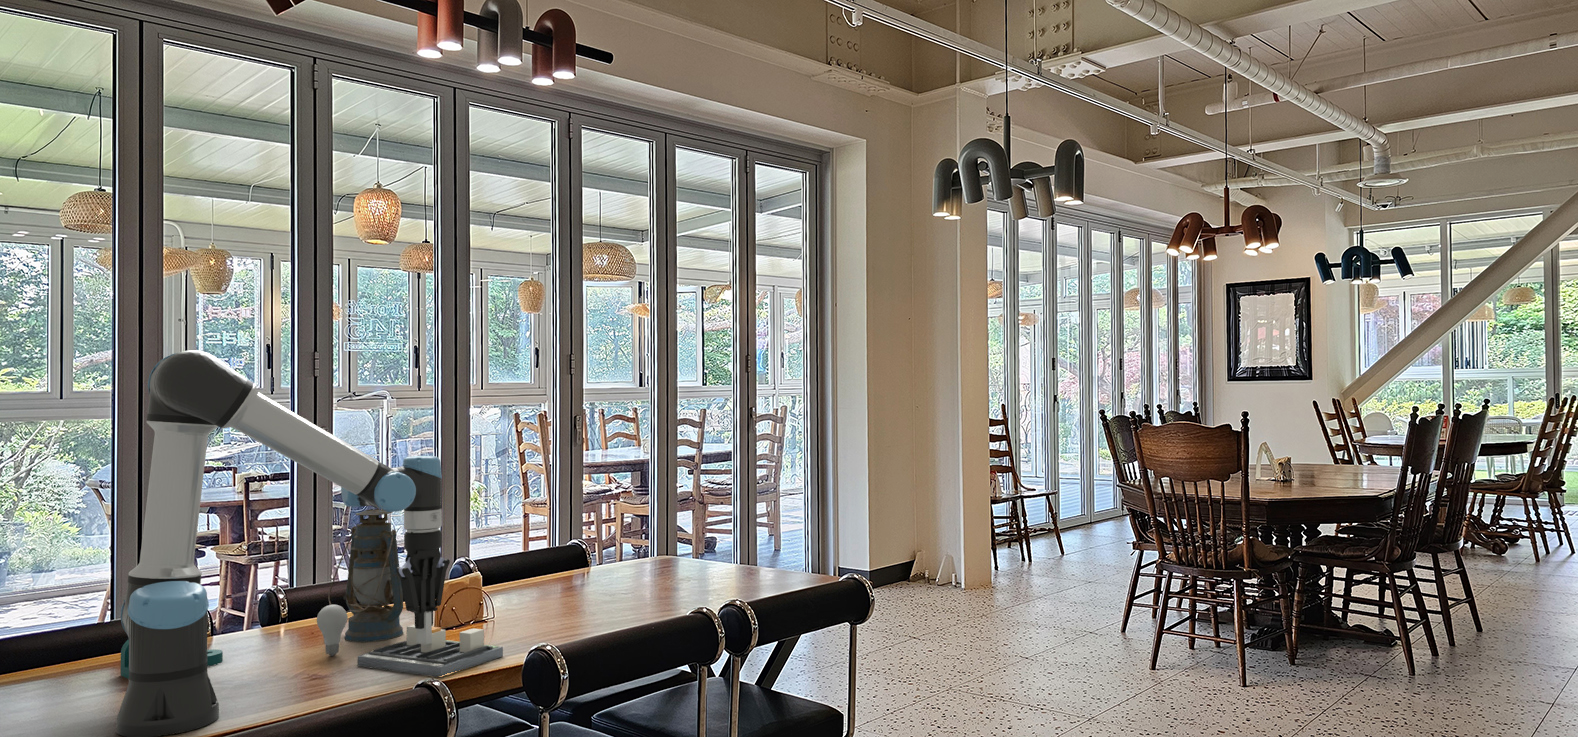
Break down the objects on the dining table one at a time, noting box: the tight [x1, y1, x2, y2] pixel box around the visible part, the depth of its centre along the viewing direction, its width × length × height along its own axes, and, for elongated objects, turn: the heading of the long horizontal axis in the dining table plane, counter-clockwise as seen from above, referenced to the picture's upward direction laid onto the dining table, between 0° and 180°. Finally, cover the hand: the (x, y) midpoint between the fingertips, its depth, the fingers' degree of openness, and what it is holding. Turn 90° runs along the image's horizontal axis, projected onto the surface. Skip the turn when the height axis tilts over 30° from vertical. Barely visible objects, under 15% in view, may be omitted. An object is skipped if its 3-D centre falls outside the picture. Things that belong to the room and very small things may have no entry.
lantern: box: [327, 507, 404, 643], centre depth 243 cm, size 19×14×30 cm
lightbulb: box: [316, 604, 349, 657], centre depth 225 cm, size 6×6×11 cm
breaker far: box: [406, 623, 417, 645], centre depth 226 cm, size 4×3×4 cm
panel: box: [356, 639, 504, 678], centre depth 219 cm, size 18×23×3 cm
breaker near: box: [459, 628, 485, 652], centre depth 220 cm, size 4×3×4 cm
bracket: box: [120, 638, 224, 680], centre depth 216 cm, size 18×7×8 cm, turn 140°
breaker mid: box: [421, 626, 447, 652], centre depth 220 cm, size 4×3×5 cm
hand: (424, 643), depth 217 cm, fingers closed
